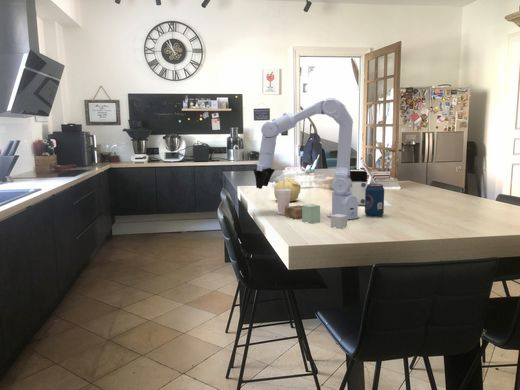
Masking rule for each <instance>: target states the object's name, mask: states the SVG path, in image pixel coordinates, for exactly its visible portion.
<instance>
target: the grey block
mask: <svg viewBox="0 0 520 390" xmlns="http://www.w3.org/2000/svg"><path fill="white" fill-rule="evenodd" d="M330 215H331V214H330ZM346 226H347V227H348V220H347V215H341V214H335V215H331V217H330V228H333V227H336V228H335V229H339V228H341V229H344V228H343V227H345V228H347V227H346Z"/></svg>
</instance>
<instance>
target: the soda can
mask: <svg viewBox="0 0 520 390" xmlns="http://www.w3.org/2000/svg"><path fill="white" fill-rule="evenodd" d="M384 199H385V187H384V184H379V183H367V187H366V190H365V206H364V214H365V215H366V217H369V218H381V217H382V216H383V215H384V212H385V209H384V208H385V206H384Z"/></svg>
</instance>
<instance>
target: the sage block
mask: <svg viewBox="0 0 520 390" xmlns="http://www.w3.org/2000/svg"><path fill="white" fill-rule="evenodd" d="M301 206H302V219H301V220H302V222H303V221H304V222H303V223H306V222H308V224H315V223H314V222H317V223H320V222H321V205H318V204H314V203H309V204H302V205H301Z"/></svg>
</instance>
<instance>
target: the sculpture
mask: <svg viewBox="0 0 520 390" xmlns="http://www.w3.org/2000/svg"><path fill="white" fill-rule="evenodd" d="M284 179H285V189H291V195H290V202H291V203H293V201H294V202H295V201H297V200H298V199H299V195H300V193H301V188H302V187H301V184H300V183H299V182H298V181H296V180H294V178H284ZM276 189H283V179H282V180H279V181H278V182H277V183H276V185H275V186H274V190H273V191H274V192H273V193H274V196H275V199H276V200H277V196H276V193H275V190H276Z"/></svg>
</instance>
